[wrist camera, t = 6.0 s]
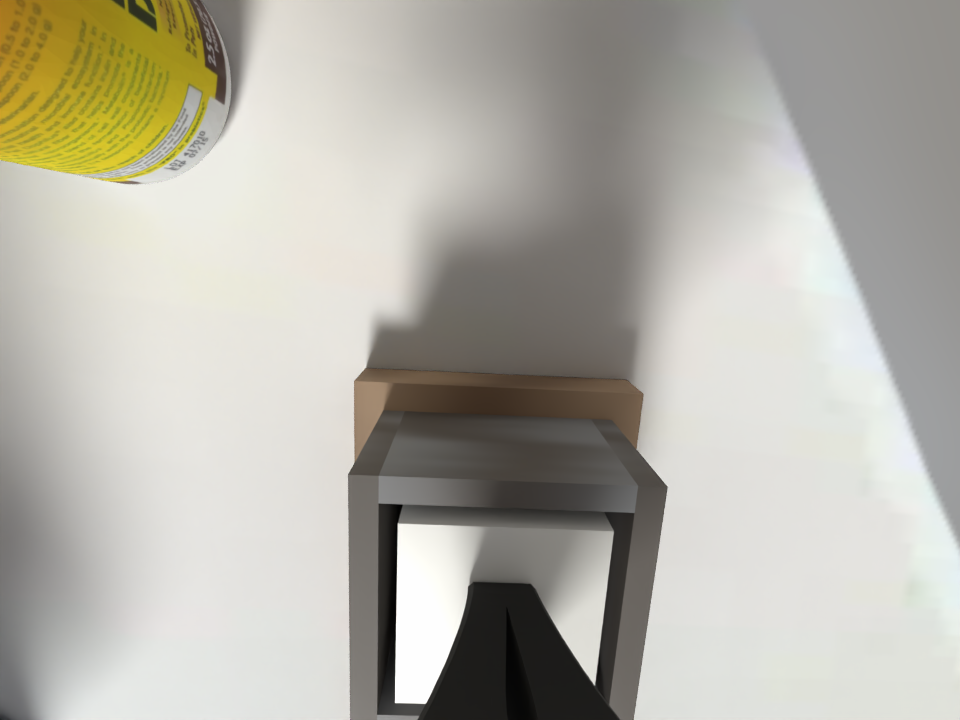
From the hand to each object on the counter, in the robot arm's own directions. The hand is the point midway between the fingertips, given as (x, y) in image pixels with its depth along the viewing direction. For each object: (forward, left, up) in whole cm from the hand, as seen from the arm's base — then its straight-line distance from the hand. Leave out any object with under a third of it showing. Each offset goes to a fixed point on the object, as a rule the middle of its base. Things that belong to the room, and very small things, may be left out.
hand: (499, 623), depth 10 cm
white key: (0, 0, -3) cm, 3 cm away
